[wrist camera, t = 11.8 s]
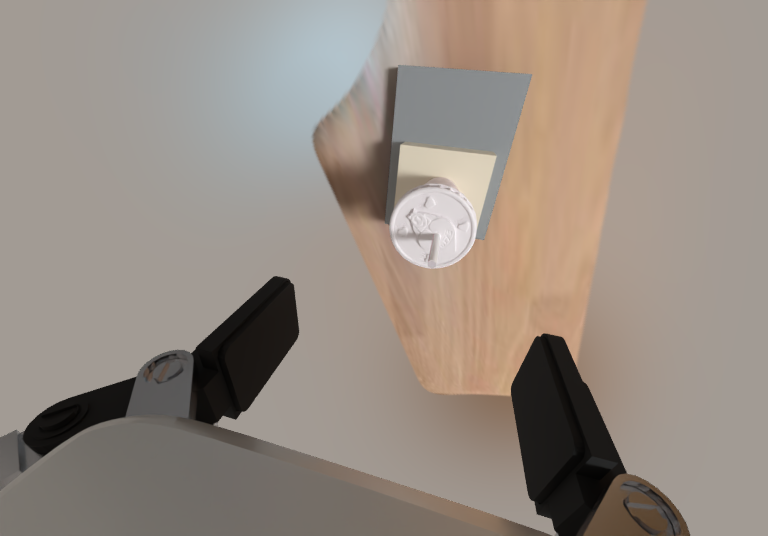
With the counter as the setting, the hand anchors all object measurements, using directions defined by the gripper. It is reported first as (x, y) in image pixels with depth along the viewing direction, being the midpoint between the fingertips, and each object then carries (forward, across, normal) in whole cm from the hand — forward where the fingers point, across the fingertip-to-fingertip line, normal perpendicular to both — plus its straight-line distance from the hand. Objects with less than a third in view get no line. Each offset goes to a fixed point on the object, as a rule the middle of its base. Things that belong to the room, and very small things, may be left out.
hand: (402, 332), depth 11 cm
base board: (+25, 0, -2) cm, 25 cm away
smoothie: (+21, 0, 0) cm, 21 cm away
